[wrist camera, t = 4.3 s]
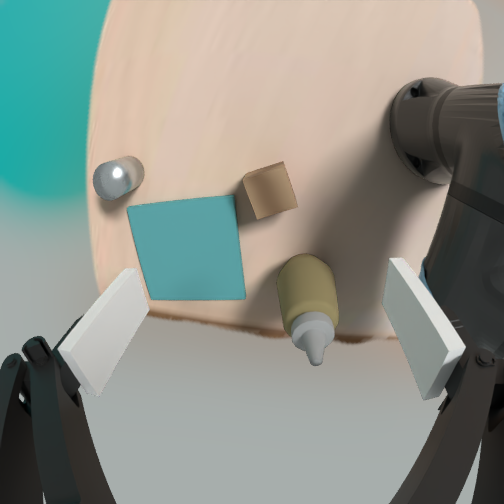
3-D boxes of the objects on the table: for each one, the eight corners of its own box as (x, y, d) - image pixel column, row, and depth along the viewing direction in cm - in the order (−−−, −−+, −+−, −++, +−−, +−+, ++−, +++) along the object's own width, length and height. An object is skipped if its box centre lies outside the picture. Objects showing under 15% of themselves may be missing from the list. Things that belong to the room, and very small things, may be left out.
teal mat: (234, 194, 37) (233, 196, 36) (245, 295, 44) (245, 299, 43) (129, 206, 39) (126, 208, 38) (153, 296, 46) (151, 299, 45)
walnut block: (283, 161, 35) (284, 166, 30) (295, 196, 37) (297, 207, 32) (246, 173, 36) (242, 180, 31) (259, 207, 38) (257, 219, 33)
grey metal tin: (141, 153, 35) (120, 159, 30) (146, 186, 37) (127, 197, 32) (112, 159, 36) (89, 166, 31) (118, 191, 38) (97, 202, 33)
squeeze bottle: (265, 269, 42) (256, 360, 25) (307, 234, 39) (326, 316, 22) (299, 302, 44) (307, 395, 27) (341, 272, 41) (371, 360, 25)
